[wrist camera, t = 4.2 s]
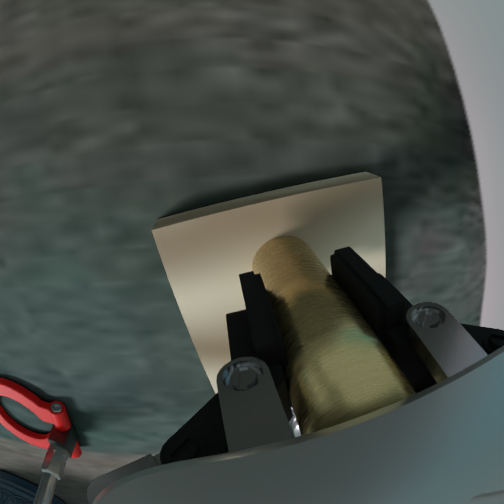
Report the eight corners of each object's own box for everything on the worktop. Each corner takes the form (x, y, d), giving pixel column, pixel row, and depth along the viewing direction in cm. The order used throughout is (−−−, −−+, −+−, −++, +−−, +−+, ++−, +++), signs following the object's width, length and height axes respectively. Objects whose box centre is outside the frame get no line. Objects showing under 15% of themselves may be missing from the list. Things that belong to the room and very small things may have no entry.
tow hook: (4, 422, 19) (86, 452, 20) (-37, 522, 7) (60, 572, 8) (-26, 360, 16) (66, 394, 17) (-94, 474, 4) (13, 549, 5)
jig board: (157, 219, 14) (151, 230, 12) (365, 171, 14) (381, 177, 13) (262, 478, 24) (265, 490, 23) (362, 450, 25) (367, 461, 23)
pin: (245, 244, 13) (317, 475, 4) (310, 228, 13) (462, 413, 4) (258, 300, 14) (322, 514, 5) (317, 285, 14) (429, 472, 5)
